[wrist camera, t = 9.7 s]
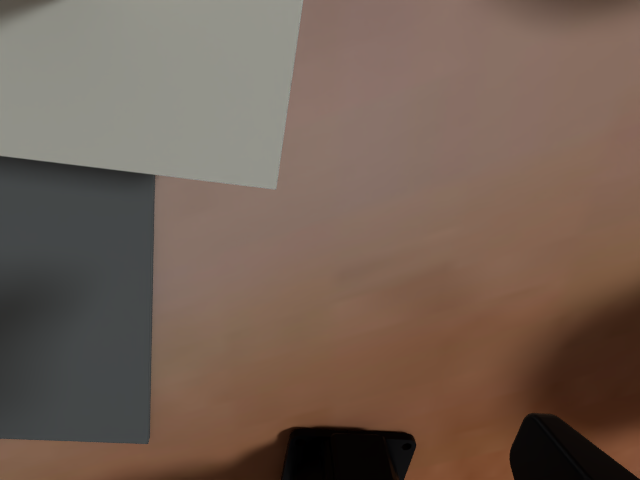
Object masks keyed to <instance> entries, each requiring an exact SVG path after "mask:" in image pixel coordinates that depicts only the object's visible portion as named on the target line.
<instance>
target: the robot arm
mask: <svg viewBox="0 0 640 480" xmlns="http://www.w3.org/2000/svg"><path fill="white" fill-rule="evenodd" d="M415 448H416V442H415V439H414V437H413V435H411V434H407V433H384V432H361V431H338V430H315V429H297V430H294V431H293V432H291V434H290V436H289V441H288V446H287V451H286V456H285V461H284V466H283V471H282V476H281V480H404V478H405V475H406V472H407V470H408V467H409V464H410V462H411V459H412V456H413V454H414V451H415ZM510 465H511V469H512V473H513V476H514V480H640V479H639V478H637V477H636V476H635V475H633V474H632V473H631V472H629V471H628V470H627V469H626V468H624V467H623V466H622V465H620V464H619V463H618V462H616V461H615V460H614V459H612V458H611V457H610V456H609V455H607V454H606V453H605V452H603V451H602V450H601V449H599V448H598V447H597V446H595V445H594V444H593V443H591V442H590V441H589V440H588V439H586V438H585V437H584V436H582V435H581V434H580V433H578V432H577V431H576V430H574V429H573V428H572V427H570V426H569V425H568V424H567V423H565V422H564V421H563V420H561V419H560V418H559V417H557V416H555V415H552V414H540V413H531V414H528V415H527V416H526V417H525V418H524V420H523V422H522V424H521V426H520V429H519V431H518V433H517V435H516V438H515V440H514V442H513V444H512V447H511V450H510Z"/></svg>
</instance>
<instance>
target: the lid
mask: <svg viewBox="0 0 640 480" xmlns="http://www.w3.org/2000/svg"><path fill="white" fill-rule="evenodd" d="M302 5H303V0H0V156H6V157H14V158H22V159H30V160H38V161H47V162H55V163H63V164H71V165H79V166H87V167H96V168H104V169H112V170H120V171H128V172H136V173H145V174H153V175H161V176H169V177H177V178H185V179H194V180H202V181H210V182H218V183H226V184H235V185H243V186H251V187H259V188H267V189H275V190H276V187H277V180H278V173H279V166H280V159H281V152H282V145H283V138H284V131H285V124H286V117H287V110H288V103H289V96H290V89H291V82H292V75H293V68H294V61H295V54H296V47H297V40H298V33H299V26H300V19H301V12H302Z"/></svg>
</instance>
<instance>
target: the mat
mask: <svg viewBox="0 0 640 480" xmlns="http://www.w3.org/2000/svg"><path fill="white" fill-rule="evenodd" d="M154 196H155V175H153V174H145V173H136V172H128V171H120V170H112V169H104V168H96V167H87V166H79V165H71V164H63V163H55V162H47V161H38V160H30V159H22V158H14V157H6V156H0V439H27V440H54V441H81V442H108V443H135V444H148V442H149V438H150V396H151V346H152V296H153V246H154Z"/></svg>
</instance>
